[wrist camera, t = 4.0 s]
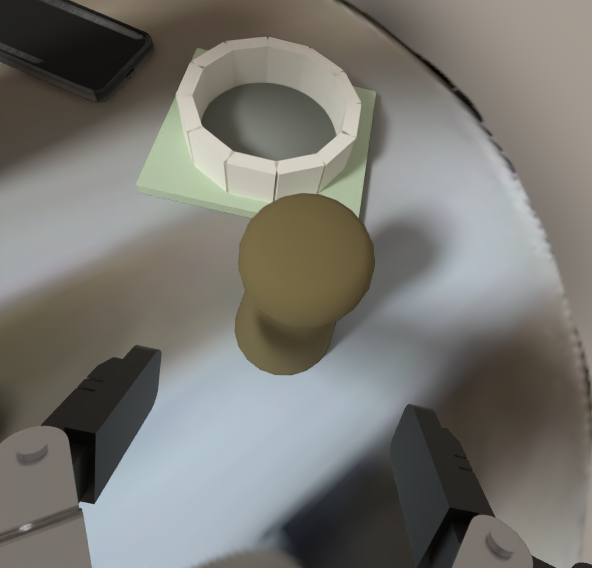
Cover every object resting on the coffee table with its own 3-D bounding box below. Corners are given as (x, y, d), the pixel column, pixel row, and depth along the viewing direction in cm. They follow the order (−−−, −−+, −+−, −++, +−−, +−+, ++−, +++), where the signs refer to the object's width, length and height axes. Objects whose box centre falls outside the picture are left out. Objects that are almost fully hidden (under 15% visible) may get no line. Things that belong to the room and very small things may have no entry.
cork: (284, 263, 24) (312, 140, 14) (351, 328, 23) (432, 245, 13) (213, 323, 22) (185, 229, 12) (283, 398, 21) (316, 362, 11)
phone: (-5, -31, 31) (157, 36, 30) (3, -16, 32) (160, 50, 31) (-80, 21, 27) (98, 98, 27) (-69, 36, 28) (104, 111, 28)
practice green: (138, 192, 25) (121, 153, 22) (198, 57, 31) (191, 8, 27) (353, 241, 26) (369, 210, 22) (373, 99, 31) (389, 57, 28)
